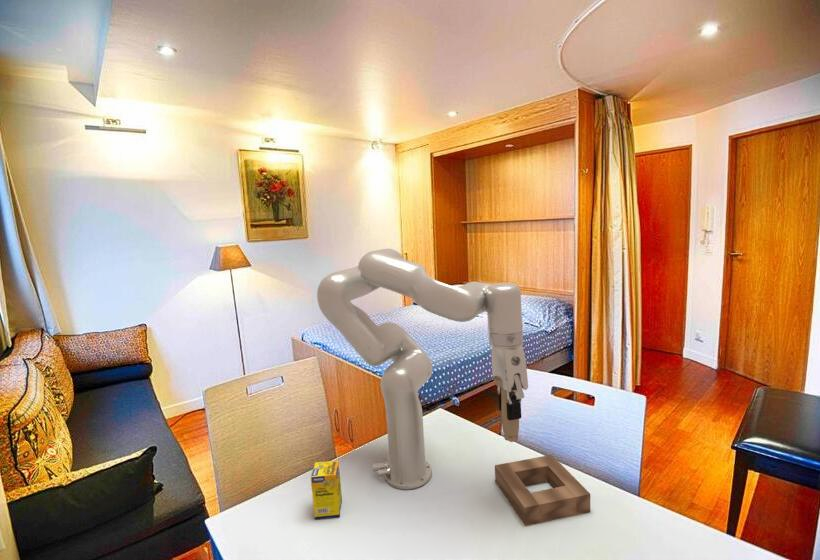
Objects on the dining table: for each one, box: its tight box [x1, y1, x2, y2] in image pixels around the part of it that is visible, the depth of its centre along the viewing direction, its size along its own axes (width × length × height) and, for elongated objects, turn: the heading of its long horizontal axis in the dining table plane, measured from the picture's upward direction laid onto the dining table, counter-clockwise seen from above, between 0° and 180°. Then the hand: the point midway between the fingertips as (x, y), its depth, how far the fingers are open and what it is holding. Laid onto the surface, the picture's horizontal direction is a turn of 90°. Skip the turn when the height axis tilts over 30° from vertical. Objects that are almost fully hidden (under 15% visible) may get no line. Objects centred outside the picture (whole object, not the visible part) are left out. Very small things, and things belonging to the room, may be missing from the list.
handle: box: [493, 376, 522, 443], centre depth 94 cm, size 5×6×15 cm
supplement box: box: [310, 460, 343, 521], centre depth 96 cm, size 6×6×11 cm
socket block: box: [494, 454, 591, 527], centre depth 97 cm, size 16×16×4 cm
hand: (510, 413), depth 94 cm, fingers closed on handle, 3 cm apart
